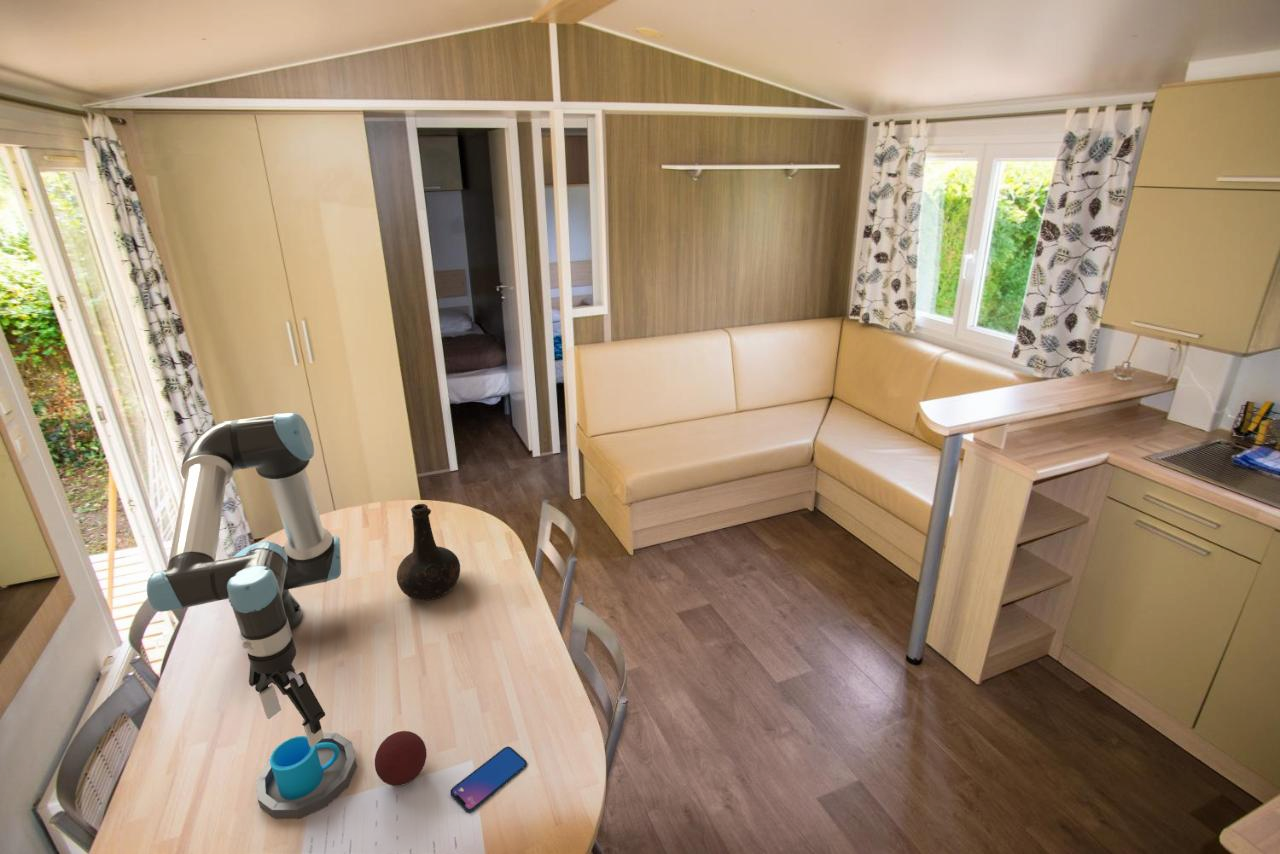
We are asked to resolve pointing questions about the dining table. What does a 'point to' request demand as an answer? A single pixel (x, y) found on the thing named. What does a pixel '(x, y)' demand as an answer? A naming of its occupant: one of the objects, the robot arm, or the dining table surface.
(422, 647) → the dining table surface
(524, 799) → the dining table surface
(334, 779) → the holder ring
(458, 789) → the smartphone
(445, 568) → the glass bottle
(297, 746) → the mug
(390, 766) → the decorative ball
